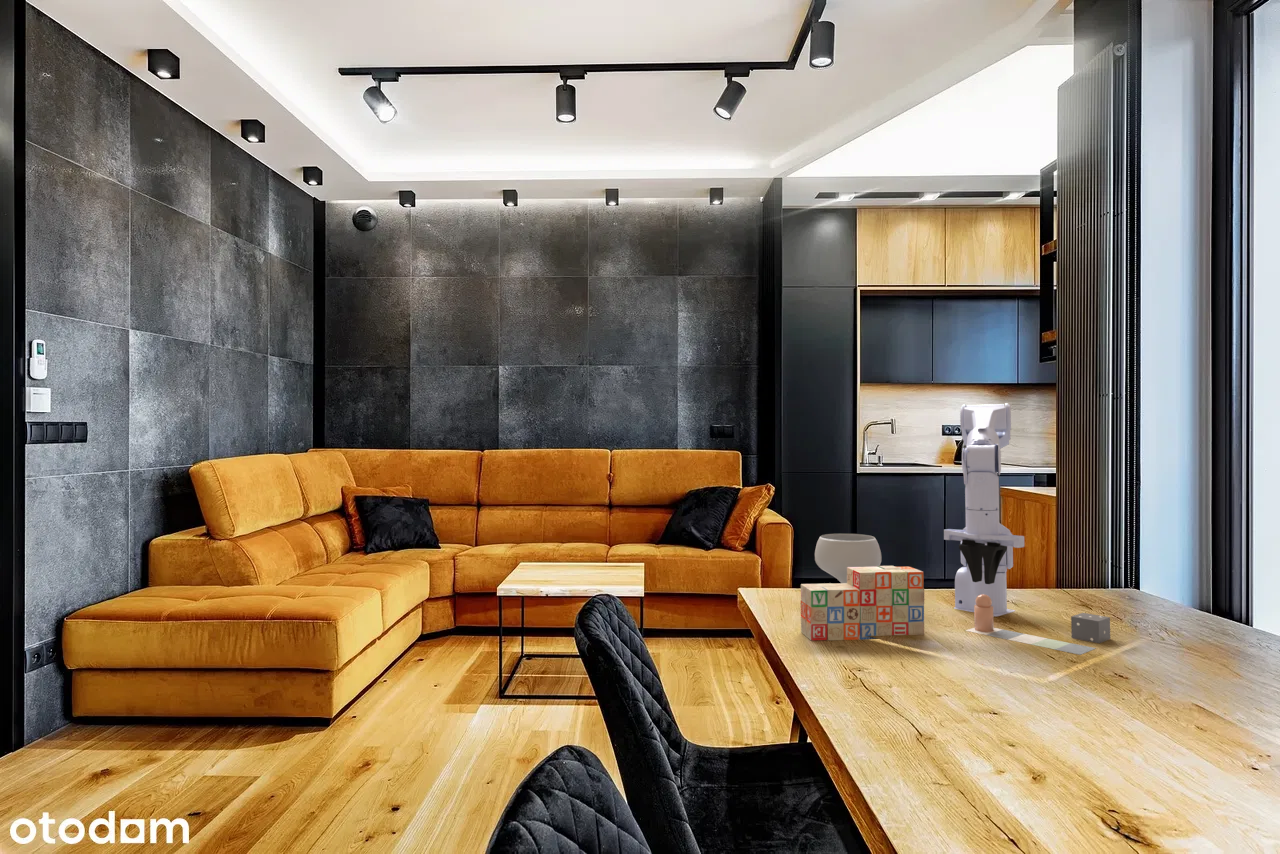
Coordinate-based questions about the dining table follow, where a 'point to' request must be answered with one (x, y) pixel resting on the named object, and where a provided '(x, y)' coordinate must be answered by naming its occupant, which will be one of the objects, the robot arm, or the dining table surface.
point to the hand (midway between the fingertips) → (983, 582)
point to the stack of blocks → (865, 605)
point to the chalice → (846, 553)
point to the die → (1090, 627)
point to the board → (1036, 641)
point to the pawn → (983, 614)
